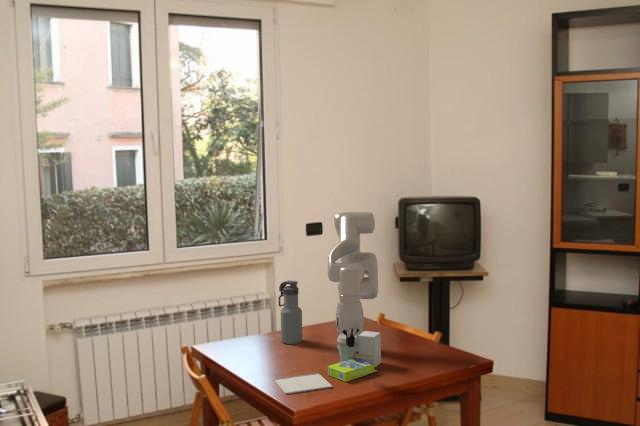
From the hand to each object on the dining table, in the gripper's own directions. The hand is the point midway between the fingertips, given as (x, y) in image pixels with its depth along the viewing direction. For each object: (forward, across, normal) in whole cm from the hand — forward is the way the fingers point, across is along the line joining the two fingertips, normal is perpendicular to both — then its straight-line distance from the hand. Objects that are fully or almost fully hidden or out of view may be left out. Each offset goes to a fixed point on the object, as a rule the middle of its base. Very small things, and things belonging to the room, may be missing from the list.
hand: (350, 346), depth 249 cm
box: (+10, +6, 0) cm, 12 cm away
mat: (+12, +19, 0) cm, 23 cm away
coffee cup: (+12, -5, -14) cm, 19 cm away
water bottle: (+12, +6, -55) cm, 57 cm away
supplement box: (+12, -13, -12) cm, 22 cm away
